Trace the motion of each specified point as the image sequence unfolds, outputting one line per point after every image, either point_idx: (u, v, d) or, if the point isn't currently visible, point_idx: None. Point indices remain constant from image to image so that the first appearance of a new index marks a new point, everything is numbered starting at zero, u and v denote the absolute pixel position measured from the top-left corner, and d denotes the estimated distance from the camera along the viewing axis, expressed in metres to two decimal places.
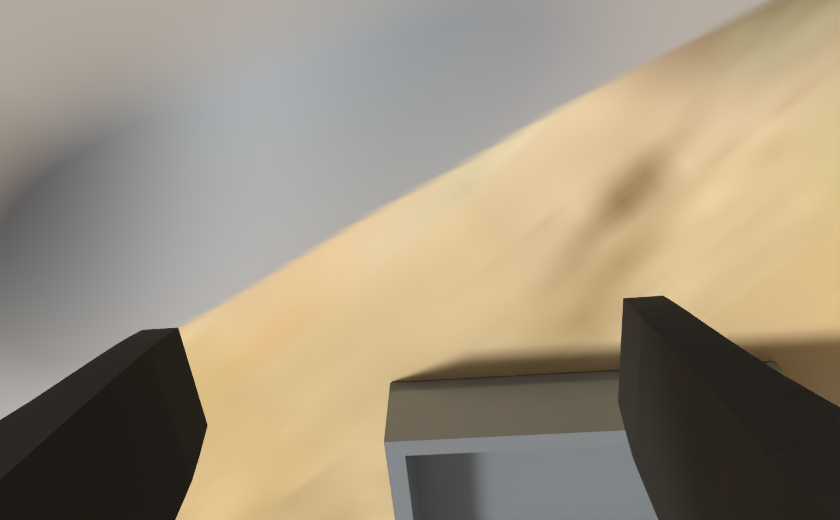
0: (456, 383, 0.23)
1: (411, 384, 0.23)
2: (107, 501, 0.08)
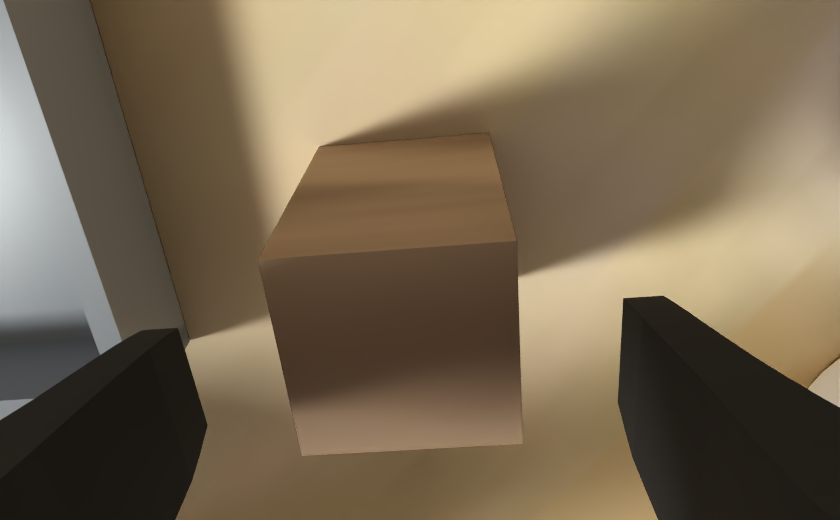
0: None
1: None
2: (107, 501, 0.08)
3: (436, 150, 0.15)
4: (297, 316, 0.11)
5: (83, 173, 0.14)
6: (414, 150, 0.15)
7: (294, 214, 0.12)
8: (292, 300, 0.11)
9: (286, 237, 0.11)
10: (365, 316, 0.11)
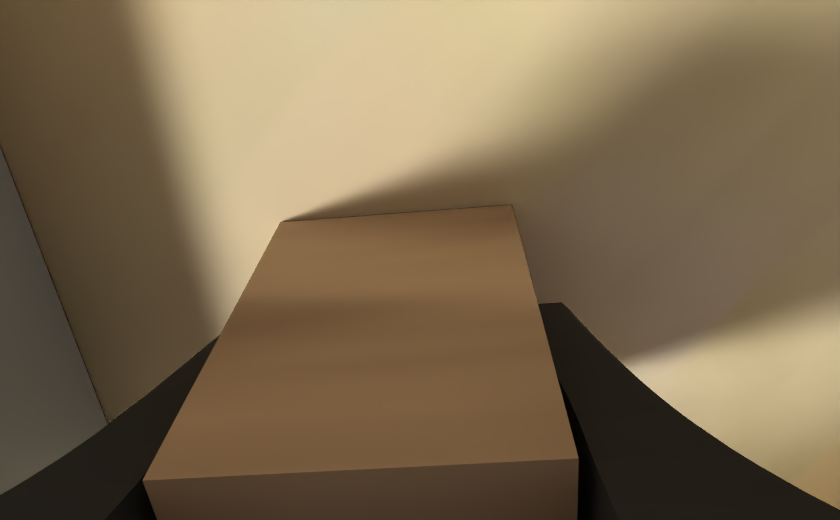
0: None
1: None
2: None
3: (440, 235, 0.10)
4: None
5: None
6: (409, 235, 0.10)
7: (222, 365, 0.08)
8: None
9: (200, 422, 0.07)
10: None
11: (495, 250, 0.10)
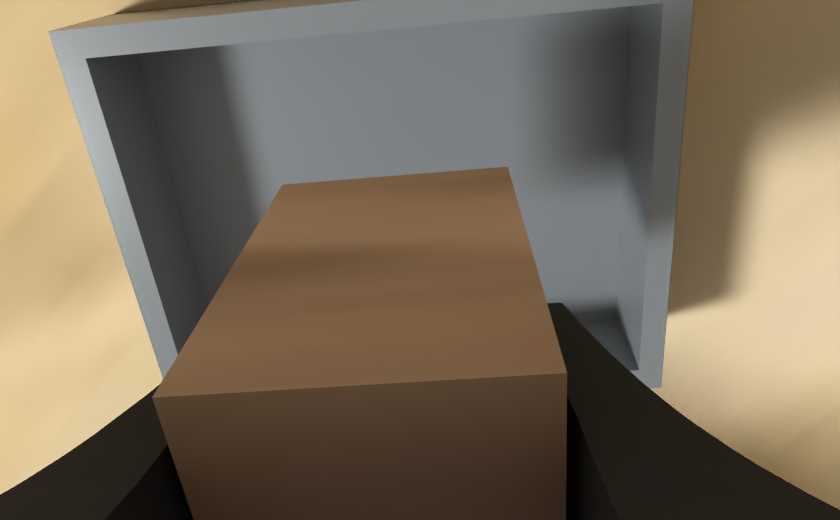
0: None
1: None
2: None
3: (437, 192, 0.11)
4: (220, 477, 0.07)
5: None
6: (408, 193, 0.11)
7: (227, 303, 0.08)
8: (211, 455, 0.07)
9: (207, 350, 0.07)
10: (326, 478, 0.07)
11: (491, 204, 0.10)
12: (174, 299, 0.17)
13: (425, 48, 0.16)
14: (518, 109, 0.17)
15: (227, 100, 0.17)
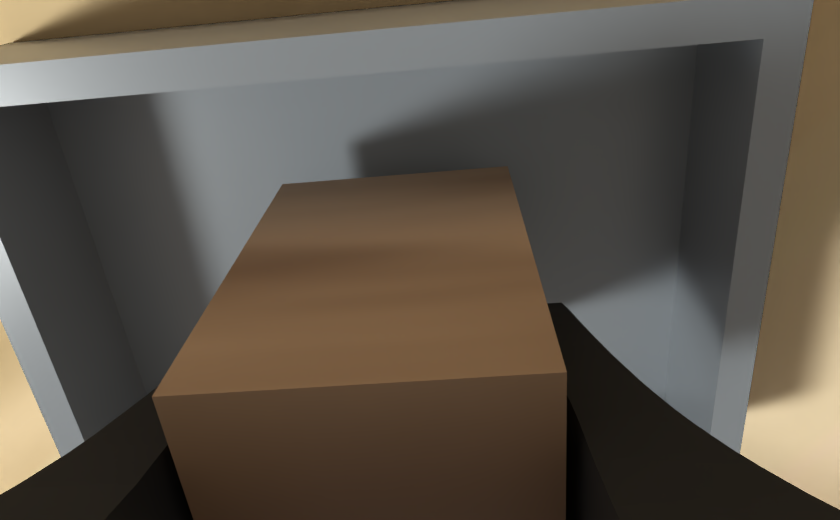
0: (123, 32, 0.12)
1: None
2: None
3: (437, 192, 0.11)
4: (220, 476, 0.07)
5: None
6: (407, 193, 0.11)
7: (227, 302, 0.08)
8: (211, 454, 0.07)
9: (207, 349, 0.07)
10: (326, 478, 0.07)
11: (491, 204, 0.10)
12: (97, 410, 0.13)
13: (423, 89, 0.12)
14: (545, 168, 0.13)
15: (165, 155, 0.13)
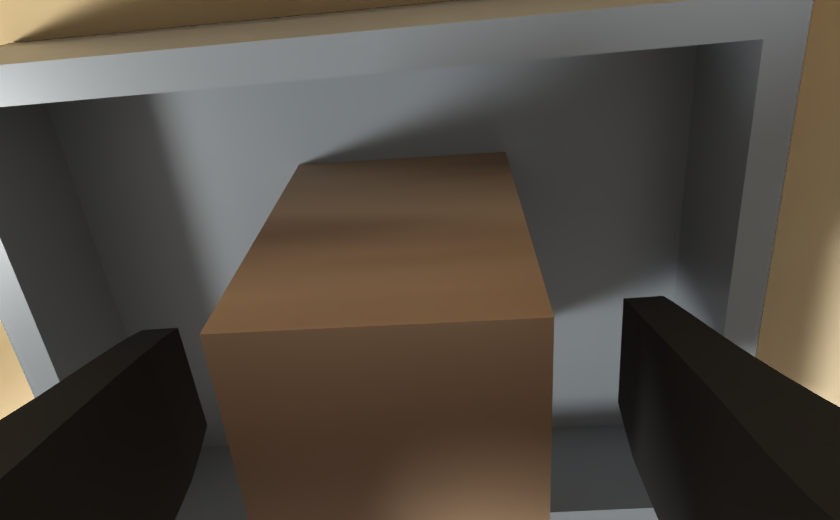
0: (123, 32, 0.12)
1: (44, 40, 0.12)
2: (107, 501, 0.08)
3: (441, 173, 0.12)
4: (254, 407, 0.08)
5: None
6: (414, 173, 0.12)
7: (257, 262, 0.09)
8: (247, 387, 0.08)
9: (243, 298, 0.08)
10: (346, 409, 0.08)
11: (490, 184, 0.11)
12: None
13: (423, 90, 0.12)
14: (545, 168, 0.13)
15: (164, 156, 0.13)
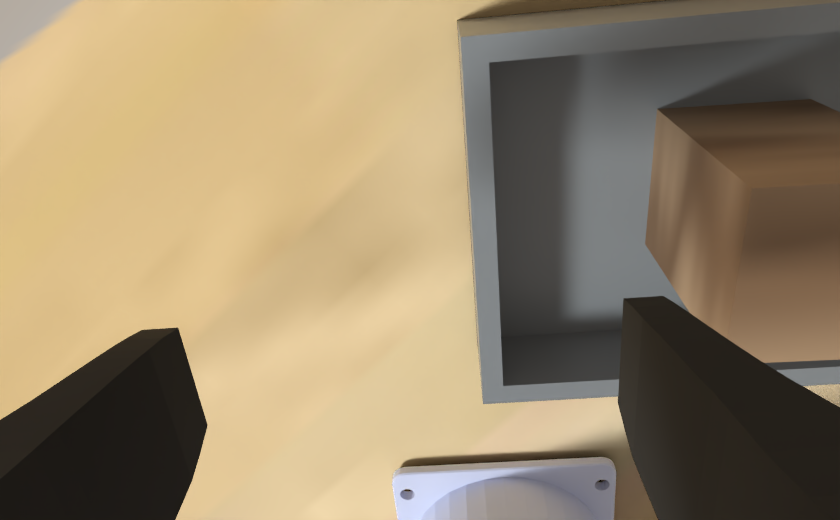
0: (548, 12, 0.17)
1: (487, 17, 0.17)
2: (107, 501, 0.08)
3: (781, 111, 0.17)
4: (766, 238, 0.13)
5: None
6: (760, 112, 0.17)
7: (727, 157, 0.14)
8: (768, 224, 0.13)
9: (750, 173, 0.13)
10: (824, 240, 0.13)
11: (829, 116, 0.16)
12: None
13: (761, 53, 0.17)
14: None
15: (559, 102, 0.18)
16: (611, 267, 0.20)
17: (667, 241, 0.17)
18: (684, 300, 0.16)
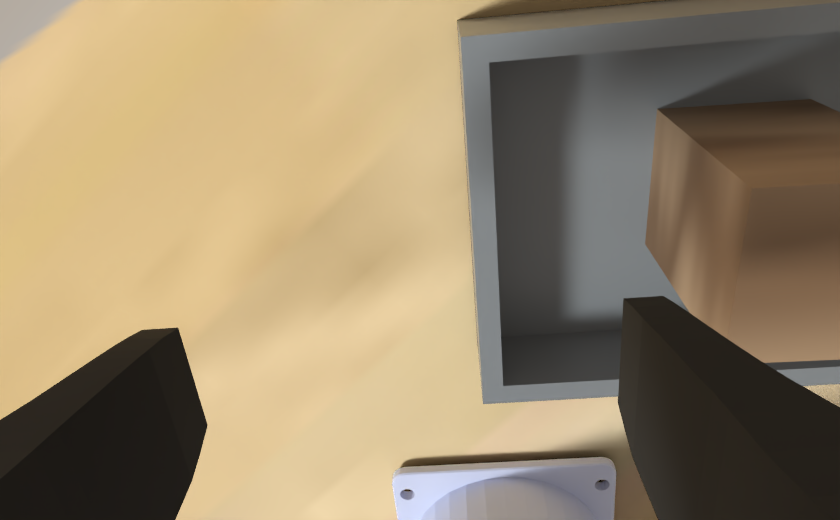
0: (548, 12, 0.17)
1: (487, 17, 0.17)
2: (107, 501, 0.08)
3: (781, 111, 0.17)
4: (766, 238, 0.13)
5: None
6: (760, 112, 0.17)
7: (727, 157, 0.14)
8: (768, 224, 0.13)
9: (750, 173, 0.13)
10: (824, 240, 0.13)
11: (829, 116, 0.16)
12: None
13: (761, 53, 0.17)
14: None
15: (559, 102, 0.18)
16: (611, 267, 0.20)
17: (667, 241, 0.17)
18: (684, 300, 0.16)
